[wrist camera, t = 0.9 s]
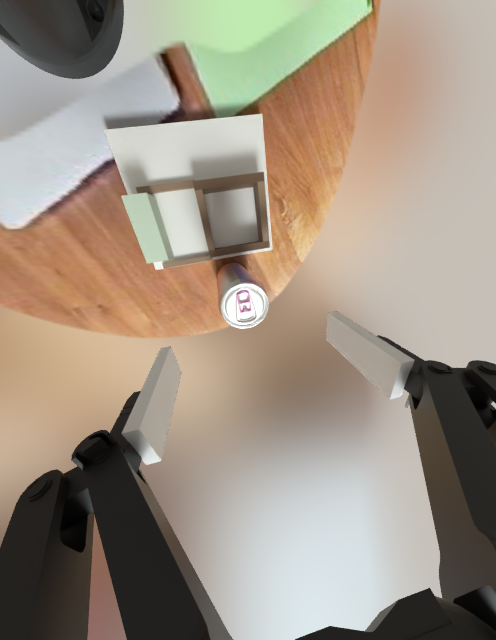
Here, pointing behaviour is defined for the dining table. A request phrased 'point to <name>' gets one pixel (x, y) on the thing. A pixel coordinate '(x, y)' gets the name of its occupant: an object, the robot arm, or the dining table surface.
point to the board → (195, 179)
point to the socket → (226, 185)
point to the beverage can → (240, 297)
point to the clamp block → (148, 226)
